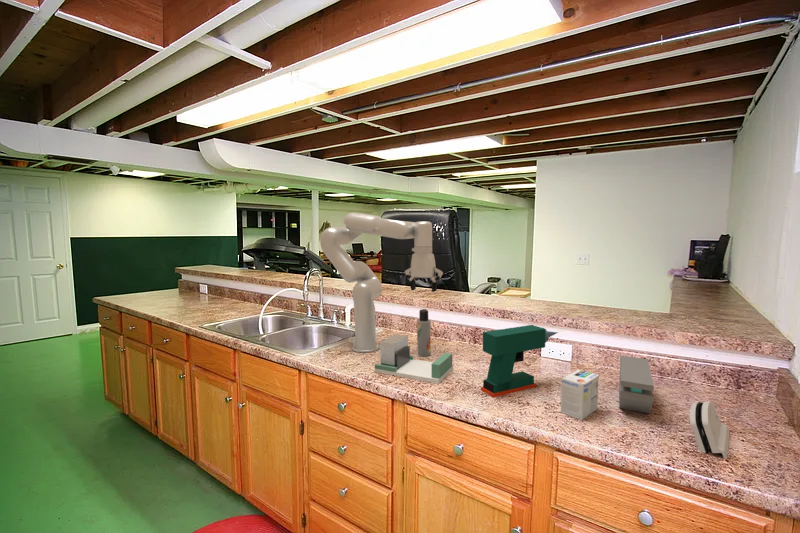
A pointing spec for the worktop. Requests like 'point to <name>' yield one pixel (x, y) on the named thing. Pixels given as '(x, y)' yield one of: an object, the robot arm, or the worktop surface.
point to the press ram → (395, 351)
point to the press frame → (421, 369)
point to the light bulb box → (579, 394)
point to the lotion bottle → (423, 334)
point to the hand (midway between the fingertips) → (423, 290)
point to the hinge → (709, 429)
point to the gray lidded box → (635, 384)
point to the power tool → (510, 358)
